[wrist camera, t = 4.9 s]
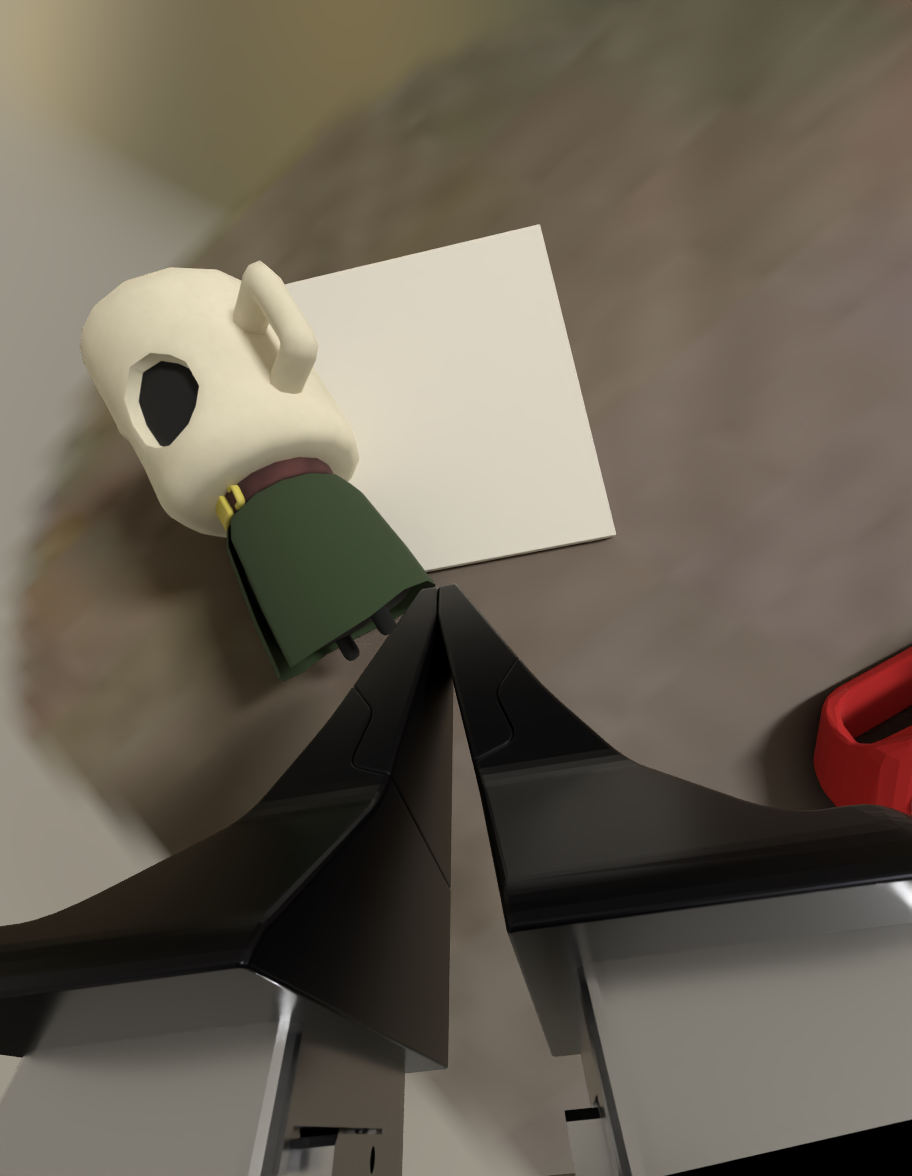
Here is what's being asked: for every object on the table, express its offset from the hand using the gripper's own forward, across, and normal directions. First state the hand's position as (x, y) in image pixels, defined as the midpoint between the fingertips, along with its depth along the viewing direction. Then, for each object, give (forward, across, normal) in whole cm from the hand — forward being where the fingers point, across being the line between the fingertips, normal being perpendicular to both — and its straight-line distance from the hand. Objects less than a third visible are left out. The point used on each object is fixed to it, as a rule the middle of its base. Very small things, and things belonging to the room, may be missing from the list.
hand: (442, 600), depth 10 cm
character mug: (+3, +3, +4) cm, 6 cm away
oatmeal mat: (+13, 0, -2) cm, 13 cm away
